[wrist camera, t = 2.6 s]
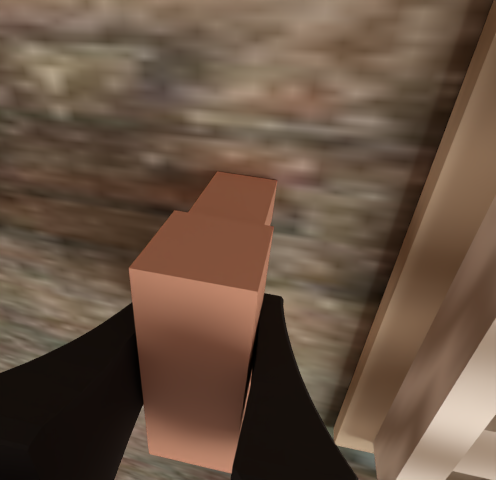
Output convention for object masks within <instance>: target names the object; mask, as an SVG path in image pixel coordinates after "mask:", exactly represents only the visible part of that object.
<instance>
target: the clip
mask: <svg viewBox="0 0 496 480" xmlns="http://www.w3.org/2000/svg"><path fill="white" fill-rule="evenodd" d="M276 187H277V180H271V179H265V178H258V177H251V176H245V175H238V174H231V173H225V172H218V171H217V172H216V174H215V175H214V177H213V178H212V179H211V181H210V182H209V184H208V185H207V186H206V188H205V189H204V191H203V192H202V193H201V195H200V196H199V198H198V199H197V200H196V202H195V203H194V205H193V206H192V207H191V209H190V210H189V212H182V211H176V210H174V212H173V213H172V214H171V215H170V217H169V218H168V219H167V220H166V222H165V223H164V224H163V225H162V227H161V228H160V229H159V230H158V232H157V233H156V234H155V236H154V237H153V238H152V239H151V241H150V242H149V243H148V244H147V246H146V247H145V248H144V249H143V251H142V252H141V253H140V254H139V256H138V257H137V258H136V260H135V261H134V262H133V263H132V265H131V266H130V267H129V275H130V284H131V293H132V302H133V311H134V320H135V329H136V338H137V348H138V357H139V366H140V375H141V384H142V393H143V402H144V411H145V420H146V429H147V438H148V447H149V454H152V455H156V456H160V457H165V458H169V459H173V460H177V461H181V462H186V463H190V464H194V465H198V466H202V467H206V468H211V469H215V470H219V471H223V472H227V473H231V474H232V466H233V462H234V458H235V453H236V449H237V444H238V440H239V436H240V431H241V427H242V422H243V418H244V413H245V409H246V404H247V400H248V395H249V390H250V385H251V375H252V366H253V359H254V352H255V345H256V338H257V331H258V324H259V317H260V311H261V307H262V303H263V298H264V291H265V284H266V277H267V270H268V263H269V256H270V249H271V242H272V235H273V228H274V227H273V226H270V224H271V220H272V215H273V208H274V201H275V194H276Z"/></svg>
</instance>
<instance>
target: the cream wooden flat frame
mask: <svg viewBox="0 0 496 480" xmlns="http://www.w3.org/2000/svg"><path fill="white" fill-rule="evenodd" d="M334 442H335V444H336V445H338V446H342V447H347V448H351V449H356V450H360V451H365V452H369V453H374V455H375V463H376V472H377V480H496V0H494V1H493V3H492V6H491V9H490V11H489V14H488V17H487V19H486V22H485V25H484V27H483V30H482V33H481V35H480V38H479V41H478V43H477V46H476V49H475V52H474V54H473V57H472V60H471V62H470V65H469V68H468V70H467V73H466V76H465V78H464V81H463V84H462V86H461V89H460V92H459V94H458V97H457V100H456V102H455V105H454V108H453V110H452V113H451V116H450V118H449V121H448V124H447V126H446V129H445V132H444V134H443V137H442V140H441V142H440V145H439V148H438V150H437V153H436V156H435V158H434V161H433V164H432V166H431V169H430V172H429V174H428V177H427V180H426V182H425V185H424V188H423V191H422V193H421V196H420V199H419V201H418V204H417V207H416V209H415V212H414V215H413V217H412V220H411V223H410V225H409V228H408V231H407V233H406V236H405V239H404V241H403V244H402V247H401V249H400V252H399V255H398V257H397V260H396V263H395V265H394V268H393V271H392V273H391V276H390V279H389V281H388V284H387V287H386V289H385V292H384V295H383V297H382V300H381V303H380V305H379V308H378V311H377V313H376V316H375V319H374V321H373V324H372V327H371V329H370V332H369V335H368V338H367V340H366V343H365V346H364V348H363V351H362V354H361V356H360V359H359V362H358V364H357V367H356V370H355V372H354V375H353V378H352V380H351V383H350V386H349V388H348V391H347V394H346V396H345V399H344V402H343V404H342V407H341V410H340V412H339V415H338V418H337V420H336V423H335V426H334Z"/></svg>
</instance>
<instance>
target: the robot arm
mask: <svg viewBox="0 0 496 480" xmlns="http://www.w3.org/2000/svg"><path fill="white" fill-rule="evenodd" d="M143 404H144V402H143V393H142V384H141V375H140V366H139V357H138V348H137V338H136V329H135V320H134V311H133V302H132V303H130V304H129V305H128V306H126V307H125V308H124V309H122V310H121V311H120V312H118V313H117V314H115V315H114V316H112V317H111V318H109V319H108V320H106V321H105V322H104V323H102V324H101V325H99V326H97V327H96V328H94V329H93V330H91V331H89V332H88V333H86V334H84V335H82V336H81V337H79V338H77V339H75V340H73V341H72V342H70V343H68V344H66V345H64V346H62V347H60V348H57V349H55V350H53V351H51V352H49V353H47V354H45V355H43V356H41V357H39V358H36V359H34V360H32V361H29V362H27V363H25V364H22V365H20V366H17V367H15V368H12V369H10V370H7V371H4V372H2V373H0V480H114V479H115V476H116V473H117V470H118V468H119V465H120V462H121V459H122V457H123V454H124V451H125V449H126V446H127V444H128V441H129V438H130V436H131V433H132V431H133V428H134V426H135V423H136V421H137V418H138V416H139V413H140V411H141V408H142V406H143ZM231 480H358V478H357V476H356V475H355V473H354V472H353V470H352V469H351V467H350V466H349V464H348V463H347V461H346V460H345V458H344V457H343V455H342V454H341V452H340V450H339V449H338V447H337V446H336V444H335V442H334V440H333V439H332V437H331V435H330V434H329V432H328V430H327V429H326V427H325V425H324V423H323V421H322V419H321V417H320V415H319V413H318V412H317V410H316V408H315V406H314V404H313V402H312V400H311V397H310V395H309V393H308V391H307V389H306V386H305V384H304V382H303V379H302V377H301V374H300V371H299V369H298V366H297V363H296V360H295V357H294V354H293V351H292V347H291V344H290V340H289V336H288V332H287V328H286V323H285V317H284V309H283V298H282V297H281V296H276V295H271V294H265V293H264V298H263V303H262V307H261V311H260V317H259V324H258V331H257V338H256V345H255V352H254V359H253V366H252V375H251V385H250V390H249V395H248V400H247V404H246V409H245V413H244V418H243V422H242V427H241V431H240V436H239V440H238V444H237V449H236V453H235V458H234V462H233V466H232V474H231Z"/></svg>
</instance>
